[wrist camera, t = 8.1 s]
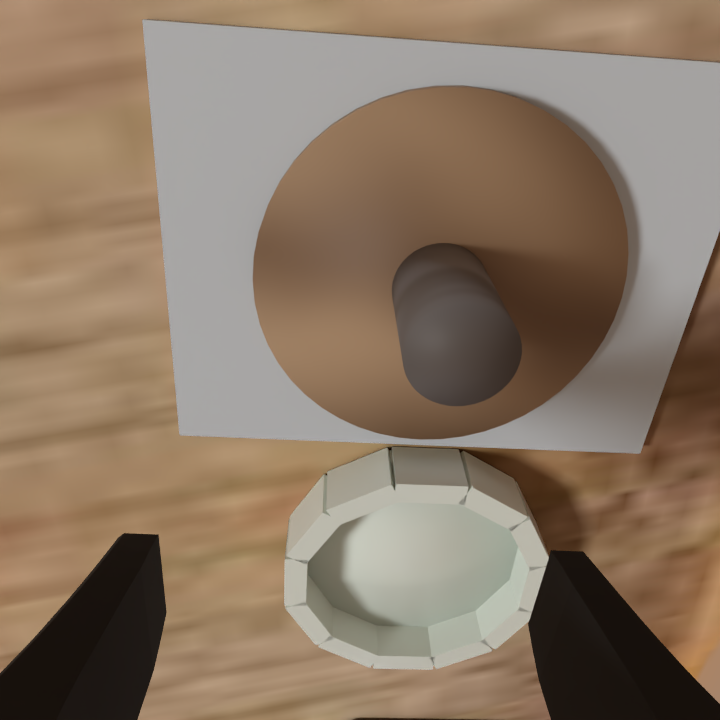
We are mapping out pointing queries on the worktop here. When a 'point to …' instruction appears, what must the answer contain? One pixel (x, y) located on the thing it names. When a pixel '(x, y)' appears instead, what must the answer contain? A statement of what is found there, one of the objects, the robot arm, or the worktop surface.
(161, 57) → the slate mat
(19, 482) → the worktop surface
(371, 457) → the celadon dish
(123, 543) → the robot arm
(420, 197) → the walnut lid
